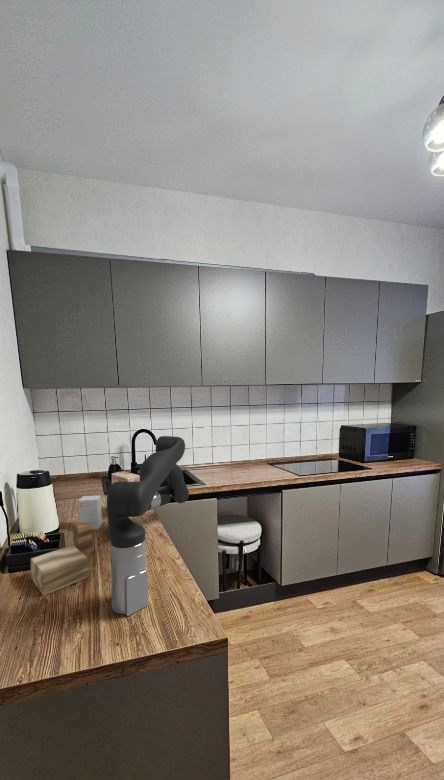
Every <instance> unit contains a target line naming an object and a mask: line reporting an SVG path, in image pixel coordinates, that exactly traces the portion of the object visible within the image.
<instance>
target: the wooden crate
mask: <svg viewBox="0 0 444 780" xmlns="http://www.w3.org/2000/svg"><path fill="white" fill-rule="evenodd" d="M90 562H91V561H90V559H89V557H87V555H86V554H83V553H82V552H80V551H79V550H78V549H77V548H76V547H75V546H73V544H71V545H68V546H66V547H62V548H59V549H56V550H53V551H49V552H47V553H44V554H40V555H37V556H35V557H31V558H30V579H31V581H32V582H33V583H34V585H35V586H36V587H37V589H38V590H39V592H40V593H41V594H42V596H47V595H49V594H51V593H54V592H55V591H58V590H60V589H63V588H65V587H68V586H71V585H73V584H75V583H79V582H80V581H82V580H85V579H87V578H89V575H90V574H91V570H90V568H89V566H90V565H91V563H90Z"/></svg>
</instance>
